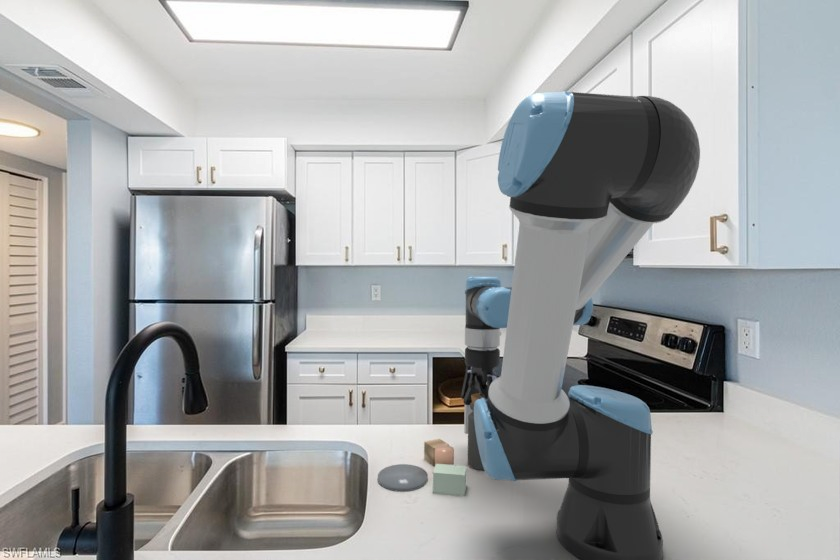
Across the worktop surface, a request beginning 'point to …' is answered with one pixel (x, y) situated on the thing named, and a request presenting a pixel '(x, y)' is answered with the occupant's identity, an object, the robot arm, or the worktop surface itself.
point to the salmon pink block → (444, 455)
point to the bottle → (473, 438)
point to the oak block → (432, 450)
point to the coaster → (402, 477)
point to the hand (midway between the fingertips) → (481, 444)
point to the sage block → (449, 479)
